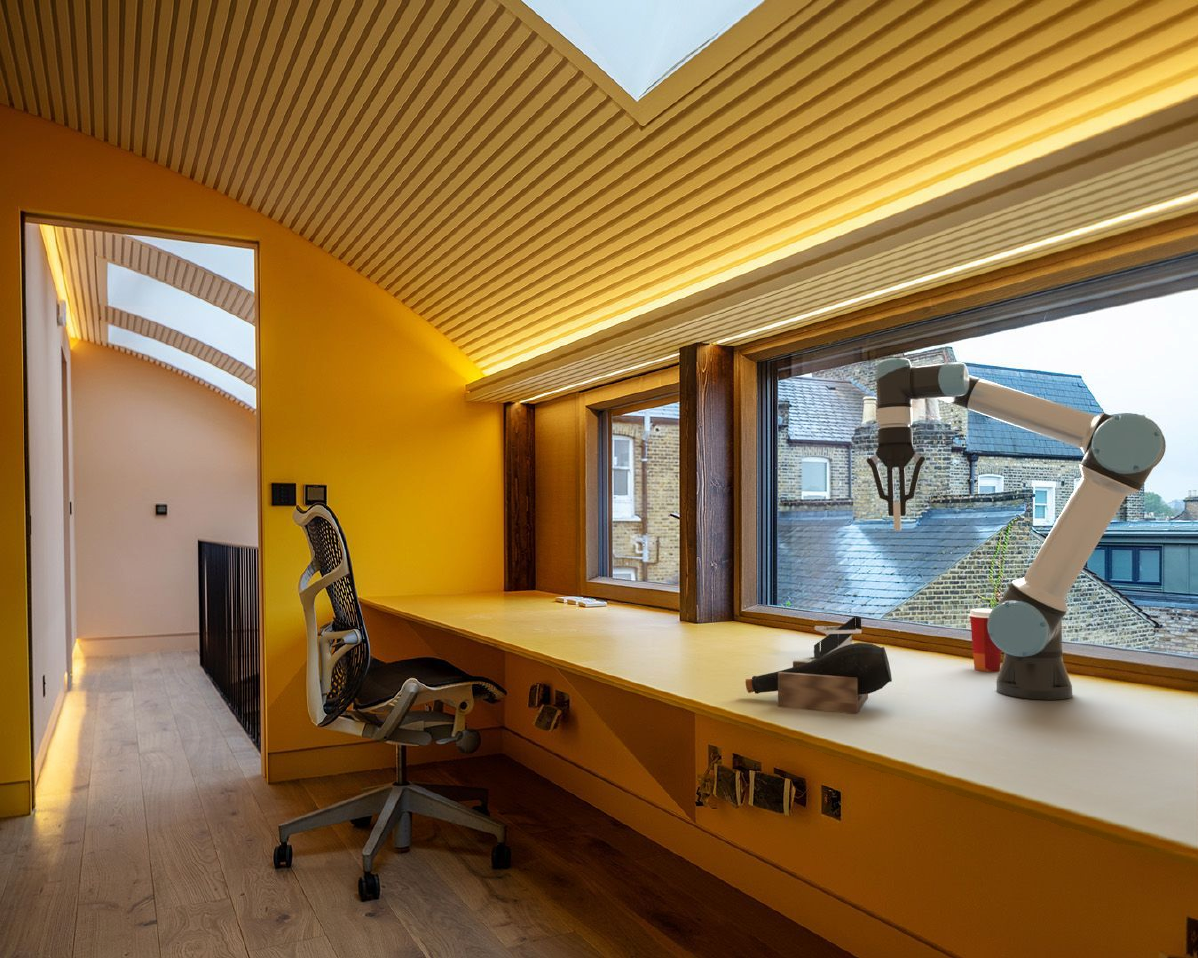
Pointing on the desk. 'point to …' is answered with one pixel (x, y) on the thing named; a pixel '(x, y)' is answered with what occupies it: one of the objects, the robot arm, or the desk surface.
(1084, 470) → the robot arm
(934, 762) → the desk surface
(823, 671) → the bottle
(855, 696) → the cradle
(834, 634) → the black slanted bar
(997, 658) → the coffee cup
